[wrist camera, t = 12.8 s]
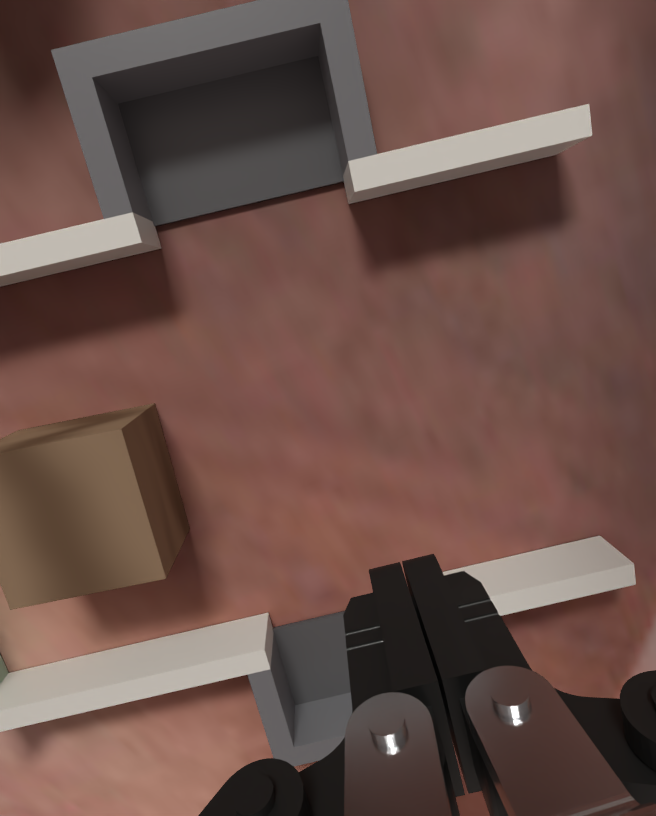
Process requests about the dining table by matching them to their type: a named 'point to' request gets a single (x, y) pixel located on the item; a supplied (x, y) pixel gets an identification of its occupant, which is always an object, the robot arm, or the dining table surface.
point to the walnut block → (87, 507)
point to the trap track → (233, 187)
